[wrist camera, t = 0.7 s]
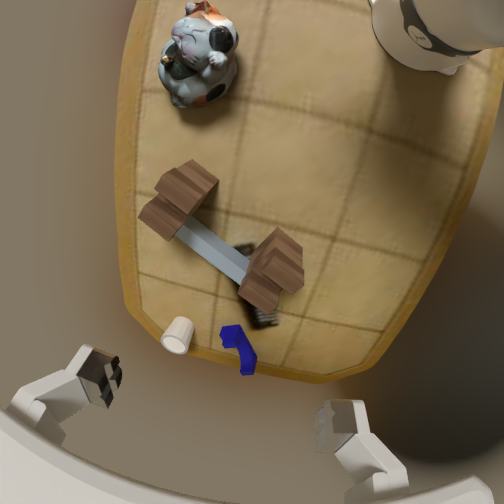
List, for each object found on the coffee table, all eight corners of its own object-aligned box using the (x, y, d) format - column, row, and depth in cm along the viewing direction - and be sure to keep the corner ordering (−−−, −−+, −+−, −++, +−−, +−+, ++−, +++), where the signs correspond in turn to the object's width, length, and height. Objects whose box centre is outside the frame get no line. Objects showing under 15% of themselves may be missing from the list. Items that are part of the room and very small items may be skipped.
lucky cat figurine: (153, 50, 36) (138, 2, 23) (221, 33, 37) (226, -18, 24) (171, 121, 39) (155, 81, 25) (246, 100, 40) (261, 56, 26)
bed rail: (169, 198, 50) (159, 206, 47) (268, 275, 55) (265, 287, 52) (162, 209, 52) (152, 218, 48) (259, 283, 56) (255, 296, 53)
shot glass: (173, 310, 65) (162, 330, 59) (199, 321, 65) (190, 342, 59) (169, 327, 69) (159, 347, 63) (193, 338, 69) (185, 358, 63)
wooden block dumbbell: (194, 156, 45) (162, 174, 35) (304, 245, 50) (303, 285, 40) (170, 191, 49) (137, 217, 39) (275, 272, 54) (267, 314, 44)
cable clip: (222, 326, 65) (216, 344, 60) (239, 323, 63) (234, 342, 58) (241, 357, 70) (236, 375, 65) (257, 356, 69) (253, 374, 63)
